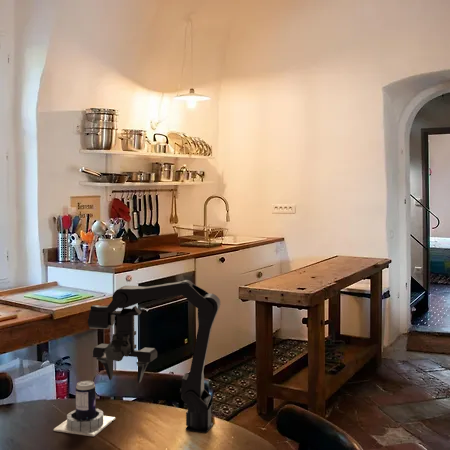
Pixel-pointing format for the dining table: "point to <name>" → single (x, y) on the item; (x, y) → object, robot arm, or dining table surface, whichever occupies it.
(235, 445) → the dining table surface
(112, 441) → the dining table surface
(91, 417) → the beverage can
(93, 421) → the collar seat
